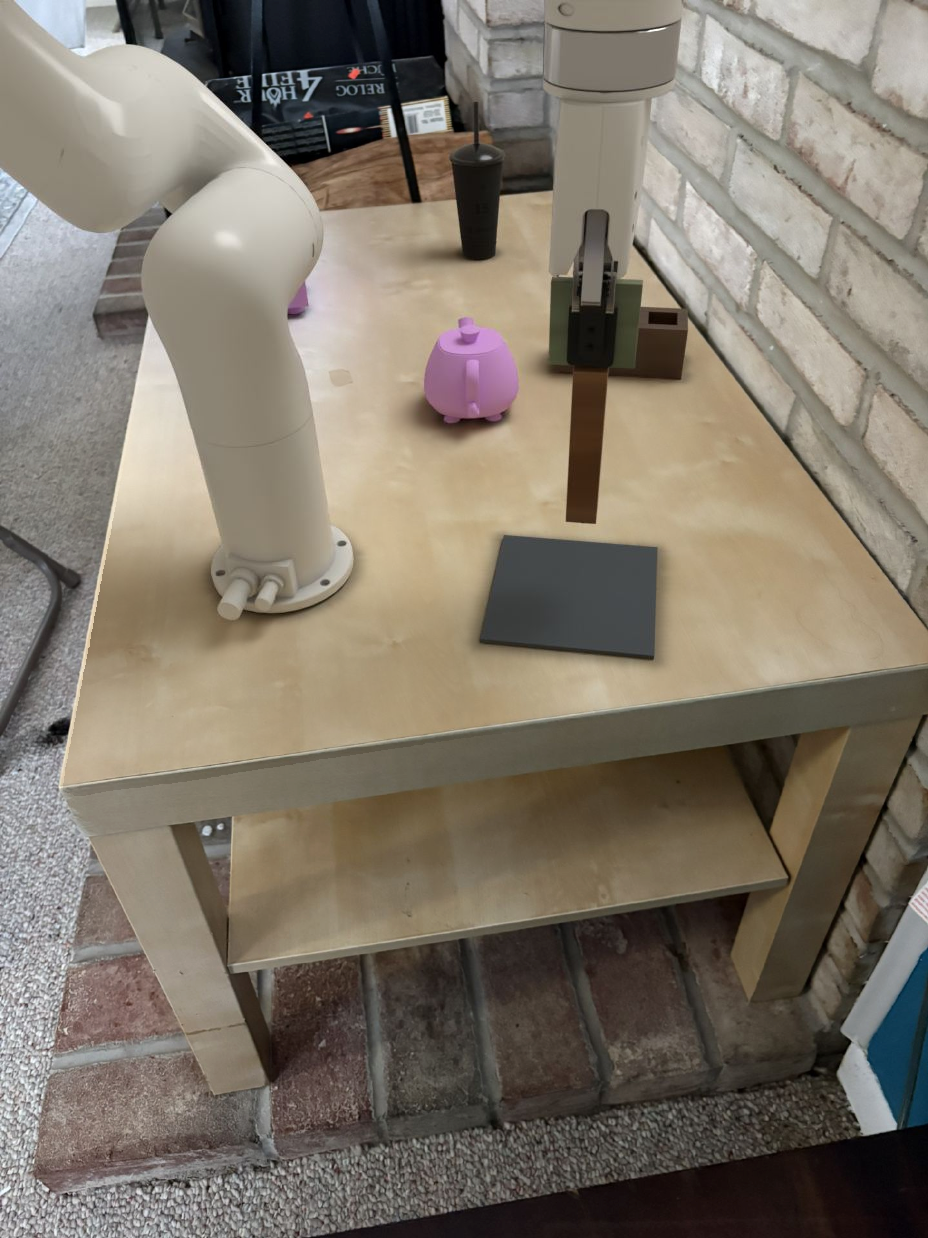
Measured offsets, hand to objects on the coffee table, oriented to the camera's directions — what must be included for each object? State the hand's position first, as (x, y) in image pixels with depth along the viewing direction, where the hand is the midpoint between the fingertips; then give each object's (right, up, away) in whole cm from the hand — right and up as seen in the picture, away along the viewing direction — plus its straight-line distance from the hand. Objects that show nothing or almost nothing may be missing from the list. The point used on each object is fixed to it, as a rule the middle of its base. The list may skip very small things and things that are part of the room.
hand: (590, 357), depth 64 cm
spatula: (+1, -10, +9) cm, 14 cm away
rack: (+10, +12, +45) cm, 47 cm away
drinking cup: (-7, +35, +71) cm, 80 cm away
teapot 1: (-35, +26, +62) cm, 76 cm away
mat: (+1, -16, +15) cm, 22 cm away
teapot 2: (-8, +6, +39) cm, 41 cm away
